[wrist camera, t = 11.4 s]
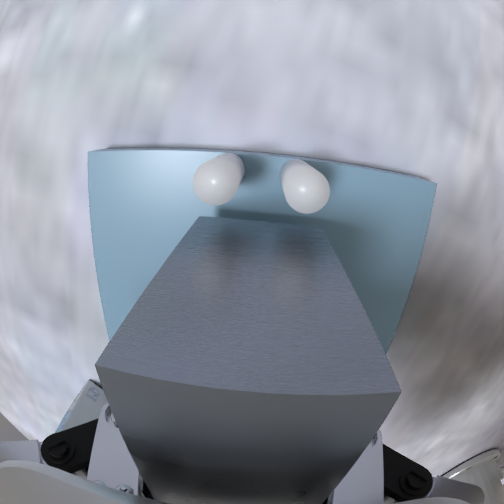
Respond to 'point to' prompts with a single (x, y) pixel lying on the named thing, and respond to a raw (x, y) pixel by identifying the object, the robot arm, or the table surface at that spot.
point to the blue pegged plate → (255, 217)
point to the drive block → (247, 369)
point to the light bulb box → (84, 407)
